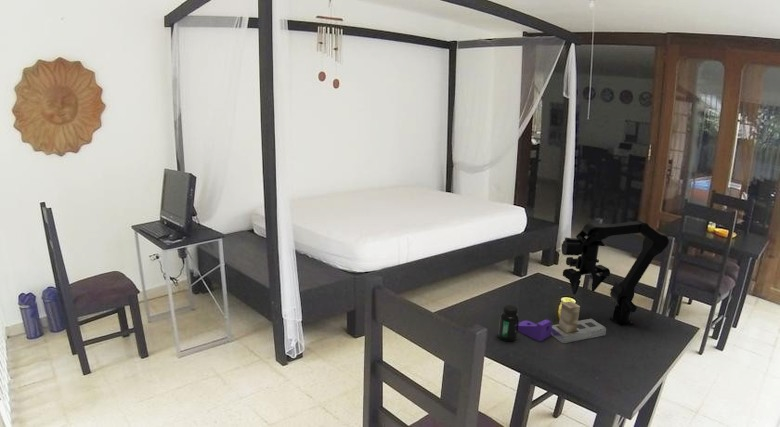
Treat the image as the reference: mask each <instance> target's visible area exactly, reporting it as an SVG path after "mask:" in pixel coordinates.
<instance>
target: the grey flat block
mask: <svg viewBox="0 0 780 427" xmlns="http://www.w3.org/2000/svg"><path fill="white" fill-rule="evenodd" d="M558 327H559V323H557V324H552V328H551V336H552V337H553V338H554V339H556V340H557V341H558V342H560V343H561V344H567V343H572V342H577V341H583V340H588V339H592V338H599V337H603V336H606V334H607V327H605V326H604V325H603V324H601V323H599V322H597V321H596V320H594V319H593V318H589V319H588V318H587V319H580V320H578V324H577V330H576V332H575V333H569V334H566V333H564V332H563V331H561V330H560V329H559V328H558Z"/></svg>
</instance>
